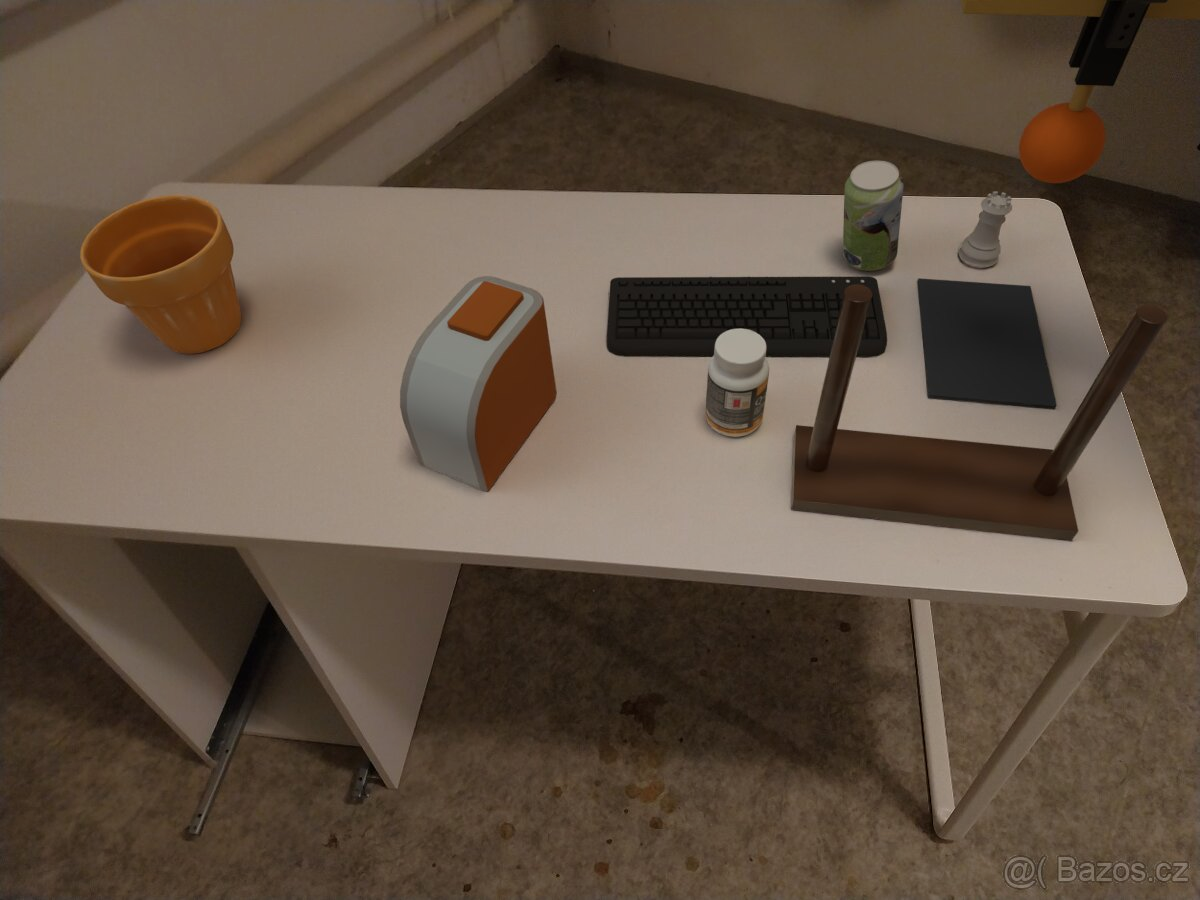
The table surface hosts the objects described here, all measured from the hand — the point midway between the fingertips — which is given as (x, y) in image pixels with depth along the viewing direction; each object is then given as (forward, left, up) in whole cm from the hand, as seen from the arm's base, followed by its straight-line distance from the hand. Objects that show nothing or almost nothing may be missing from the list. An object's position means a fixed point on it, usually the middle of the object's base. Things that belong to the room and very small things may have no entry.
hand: (1090, 73), depth 66 cm
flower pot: (-8, +86, -29) cm, 91 cm away
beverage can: (+12, +12, -29) cm, 34 cm away
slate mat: (0, 0, -29) cm, 29 cm away
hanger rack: (-20, +7, -29) cm, 36 cm away
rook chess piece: (+14, -1, -29) cm, 32 cm away
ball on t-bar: (0, 0, -9) cm, 9 cm away
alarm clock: (-18, +49, -29) cm, 60 cm away
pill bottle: (-14, +25, -29) cm, 41 cm away
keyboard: (0, +25, -29) cm, 38 cm away
